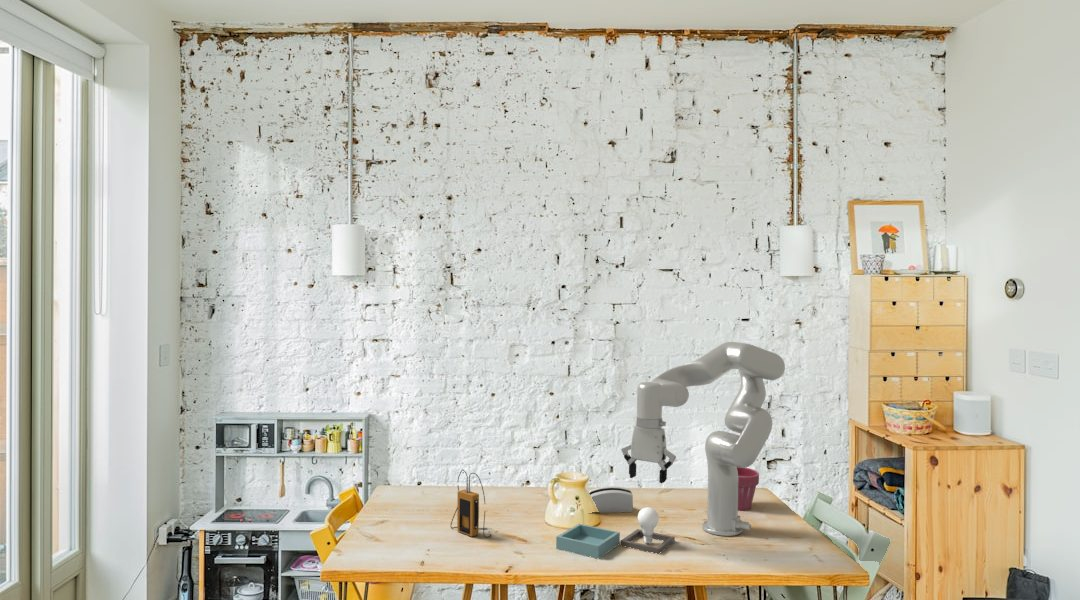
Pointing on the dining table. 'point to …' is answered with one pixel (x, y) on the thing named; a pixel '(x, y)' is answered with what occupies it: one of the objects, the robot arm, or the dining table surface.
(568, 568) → the dining table surface
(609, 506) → the grey rounded block
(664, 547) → the dark brown square frame
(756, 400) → the robot arm
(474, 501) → the multimeter
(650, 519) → the lightbulb
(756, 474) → the plant pot
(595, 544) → the parts tray
